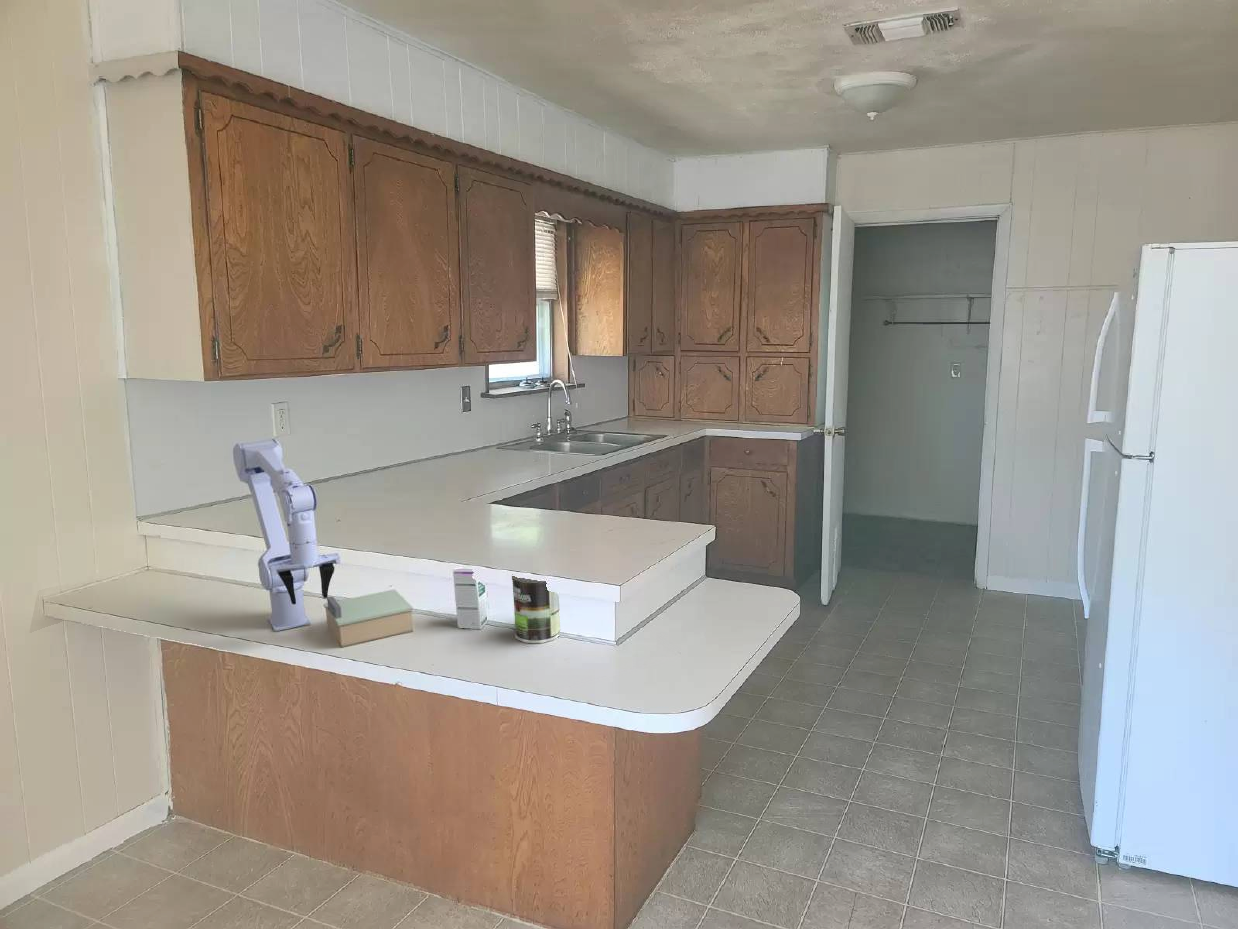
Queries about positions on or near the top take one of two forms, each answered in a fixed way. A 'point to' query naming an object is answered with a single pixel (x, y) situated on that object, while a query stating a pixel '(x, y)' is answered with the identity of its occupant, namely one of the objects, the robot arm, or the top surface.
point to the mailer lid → (366, 607)
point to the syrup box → (469, 599)
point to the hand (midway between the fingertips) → (309, 599)
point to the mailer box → (370, 628)
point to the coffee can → (535, 611)
